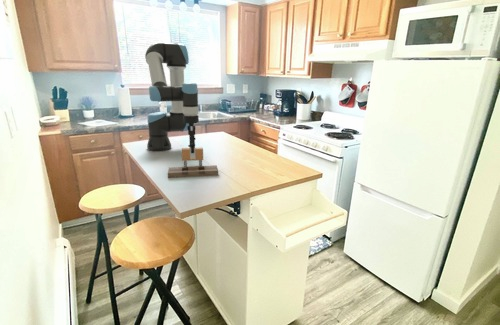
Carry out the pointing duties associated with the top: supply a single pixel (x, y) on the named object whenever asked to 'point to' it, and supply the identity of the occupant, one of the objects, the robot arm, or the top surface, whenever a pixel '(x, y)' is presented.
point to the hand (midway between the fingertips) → (192, 155)
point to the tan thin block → (187, 155)
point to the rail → (192, 171)
